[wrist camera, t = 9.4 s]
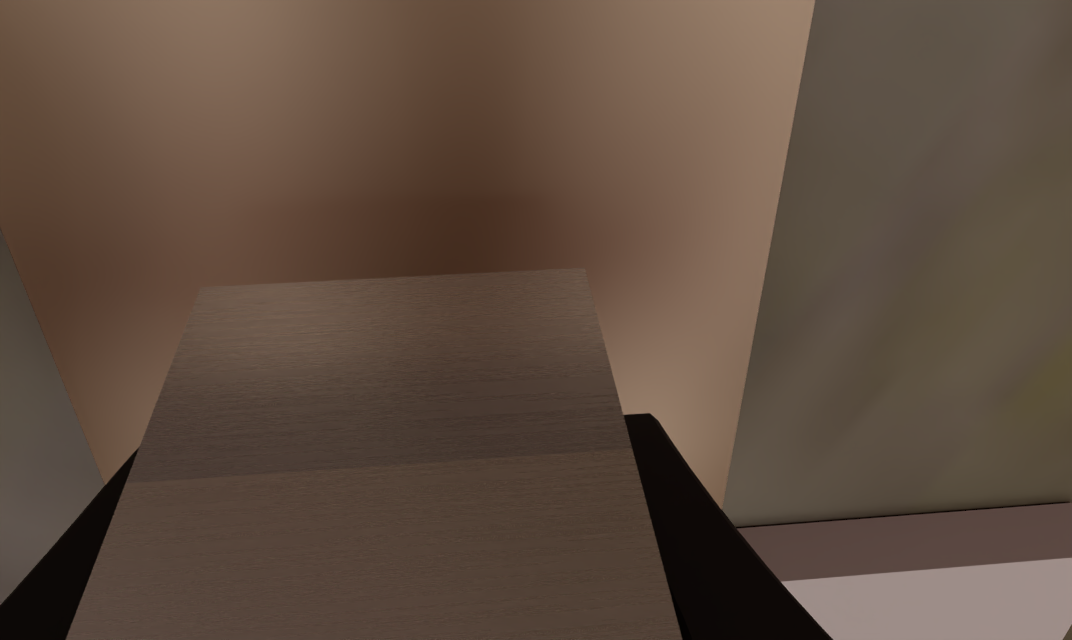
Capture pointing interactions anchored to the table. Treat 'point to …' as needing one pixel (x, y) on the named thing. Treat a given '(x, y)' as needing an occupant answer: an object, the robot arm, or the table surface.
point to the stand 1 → (399, 174)
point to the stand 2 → (930, 573)
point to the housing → (385, 472)
